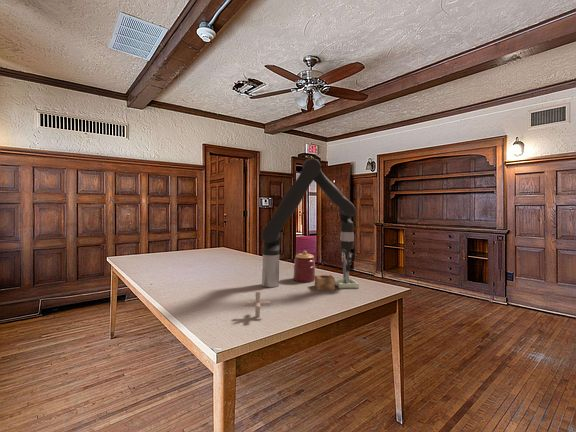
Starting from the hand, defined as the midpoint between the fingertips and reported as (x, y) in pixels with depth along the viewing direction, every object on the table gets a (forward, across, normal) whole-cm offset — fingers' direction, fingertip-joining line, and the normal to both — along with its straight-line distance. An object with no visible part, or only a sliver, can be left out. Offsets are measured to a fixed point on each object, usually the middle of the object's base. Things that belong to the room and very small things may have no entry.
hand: (346, 269), depth 170 cm
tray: (+9, 0, 0) cm, 9 cm away
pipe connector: (+9, +44, -50) cm, 67 cm away
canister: (+9, -15, -21) cm, 27 cm away
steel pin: (+8, 0, 0) cm, 8 cm away
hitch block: (+9, +3, -13) cm, 16 cm away
